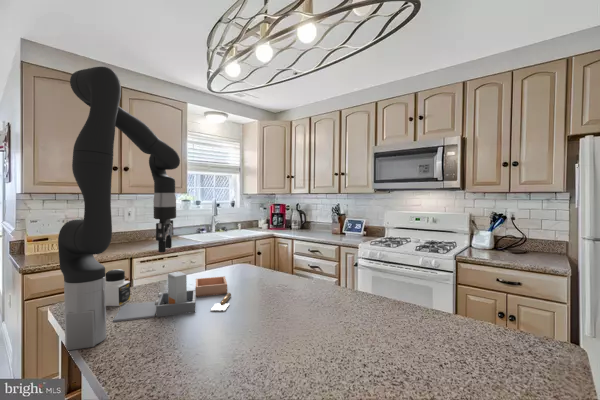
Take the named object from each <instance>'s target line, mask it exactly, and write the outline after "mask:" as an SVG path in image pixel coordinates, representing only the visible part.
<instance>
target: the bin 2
mask: <svg viewBox="0 0 600 400" xmlns="http://www.w3.org/2000/svg"><path fill="white" fill-rule="evenodd" d="M195 290H196V298H202V297H211V296H220V295H227V294H228V282H227V280H226V276H213V277H201V278H195Z"/></svg>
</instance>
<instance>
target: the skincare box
mask: <svg viewBox="0 0 600 400" xmlns="http://www.w3.org/2000/svg"><path fill="white" fill-rule="evenodd" d="M167 277H168V278H167V292H168V303H167V304H175V303H185V302H188V300H187V291H188V287H187V283H188V282H187V274H186V273H184V272H182V271H174V272H169V273H167Z"/></svg>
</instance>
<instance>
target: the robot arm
mask: <svg viewBox="0 0 600 400" xmlns="http://www.w3.org/2000/svg"><path fill="white" fill-rule="evenodd" d="M69 83H70V85H69V86H70V88H71V90H72V92H73V94H75V97H77V98H79V100H80V101H82V102H83V103H84V104H85V105H86V106H88V107H89V113H88V115H87V116H88V117H87V119H86V121H85V123H84V124H83V127H82V129H80V131H79V133H78V136H77V137H76V139H75V142H74V145H73V148H72V149H73V151H72V160H71V161H72V162H71V169H72V174H73V177H74V179H75V181H76V184H77V186H78V188H79V190H80V193H81V195H82V198H83V203H84V205H83V206H84V209H83V210H84V213H83V219H72V220H68V221H67V222H66V223H64V224H63V225H62V227H61V228H60V229H59V233H58V237H57V248H58V260H59V268H60V271H61V273H62V275H63V279H64V281H63V283H64V284H63V288H64V289H63V291H64V294H63V295H64V297H63V298H64V299H63V300H64V343H65V344H64V346H65V348H66V351H71V350H72V351H73V350H80V349H87V348H94V347H95V346H96V345H97V344H100V343H101V342H103V341H105V340H106V338H107V306H106V284H107V283H106V268H105V266H104V265H103V264H102V263H100V262H99V261H98V260H97V259H96V258H95V257H94V255H100V254H103V253H105V251H107V249H109V248H108V247H109V246H110V244H111V241H112V235H113V225H112V223H113V220H112V204H111V203H112V200H111V199H112V198H111V197H112V178H113V176H112V175H113V168H114V166H113V165H114V147H115V137H116V136H115V135H116V128H117V129H118V130H119V131H121V132H122V133H123V134H124V135H125V136H126V138H128V139H129V140H130V141H131V142H132V144H134V145H135V146H136V147H137V148H138V149H139V150H140V151H141V152H143V154H147V155H149V157H148V166H149V170H150V173H151V177H152V179H153V186H154V187H153V189H154V190H153V191H154V194H153V219H155V220H159V221H158V222H156V224H155V240H156V242H158V247H157V248H158V249H157V250H158V253H166V252H167V251H166V250H167V249H171V248H172V247H173V246H172V244H173V243H172V240H173V239H172V238H173V236H174V220H173V219H176V218H177V197H176V196H177V195H176V180H175V178H174V177H172V176H169V175H168V174H167V171H169V170H170V171H171V170H176V169H177V168H178V167H179V166H180V164H181V159H180V155H179V154H178V152H177V151H176V150H175V149H174V148H173V147H171V146H170V145H169V144H168V143H166V142H164V141H163V140H162V139H160V138H159V137H158V136H157V135H156V134H155V133H154V131H153V130H152V129H151V128H150V126H148V125H147V124H146V123H145V122H144V121H142V120H141V119H139V118H138V117H136V116H135V115H133V114H131V113H129V112H127V111H126V110H125V109H123V108H122V107H121V106H120V102H121V101H120V100H121V95H122V85H121V82H120V78H119V76H118V75H117V74H116V72H115V71H114V70H112V68H110V67H107V66H93V67H89V68H84V69H83V68H82V69H79V70H77V71H74V72H73V73H72V74H71V75H70V79H69ZM166 170H167V171H166Z"/></svg>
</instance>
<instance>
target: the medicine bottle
mask: <svg viewBox="0 0 600 400" xmlns="http://www.w3.org/2000/svg"><path fill="white" fill-rule="evenodd" d="M125 275H126V273H125V270H123V269H121V268H120V269H117V268H116V269H112V270H109V271H105V280H106V307H120V306H123V305H125V303H127V302H128V301H130V300H131V281H130V280H126V276H125Z"/></svg>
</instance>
